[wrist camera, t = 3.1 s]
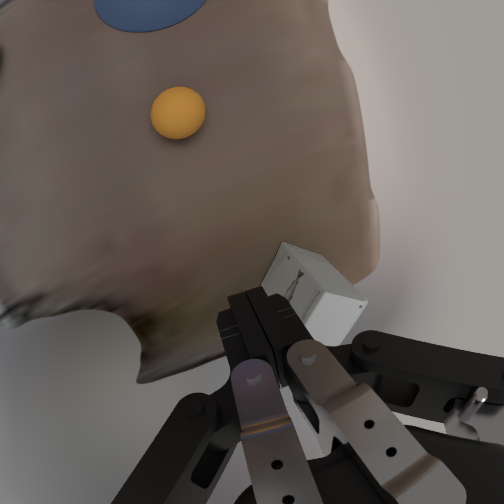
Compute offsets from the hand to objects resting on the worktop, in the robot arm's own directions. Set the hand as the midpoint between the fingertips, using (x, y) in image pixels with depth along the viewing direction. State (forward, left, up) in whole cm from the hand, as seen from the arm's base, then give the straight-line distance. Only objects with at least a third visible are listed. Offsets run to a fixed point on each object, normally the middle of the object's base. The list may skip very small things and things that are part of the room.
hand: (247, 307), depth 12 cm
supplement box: (+15, +10, -23) cm, 30 cm away
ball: (-9, 0, -20) cm, 22 cm away
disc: (-27, 0, -23) cm, 36 cm away
